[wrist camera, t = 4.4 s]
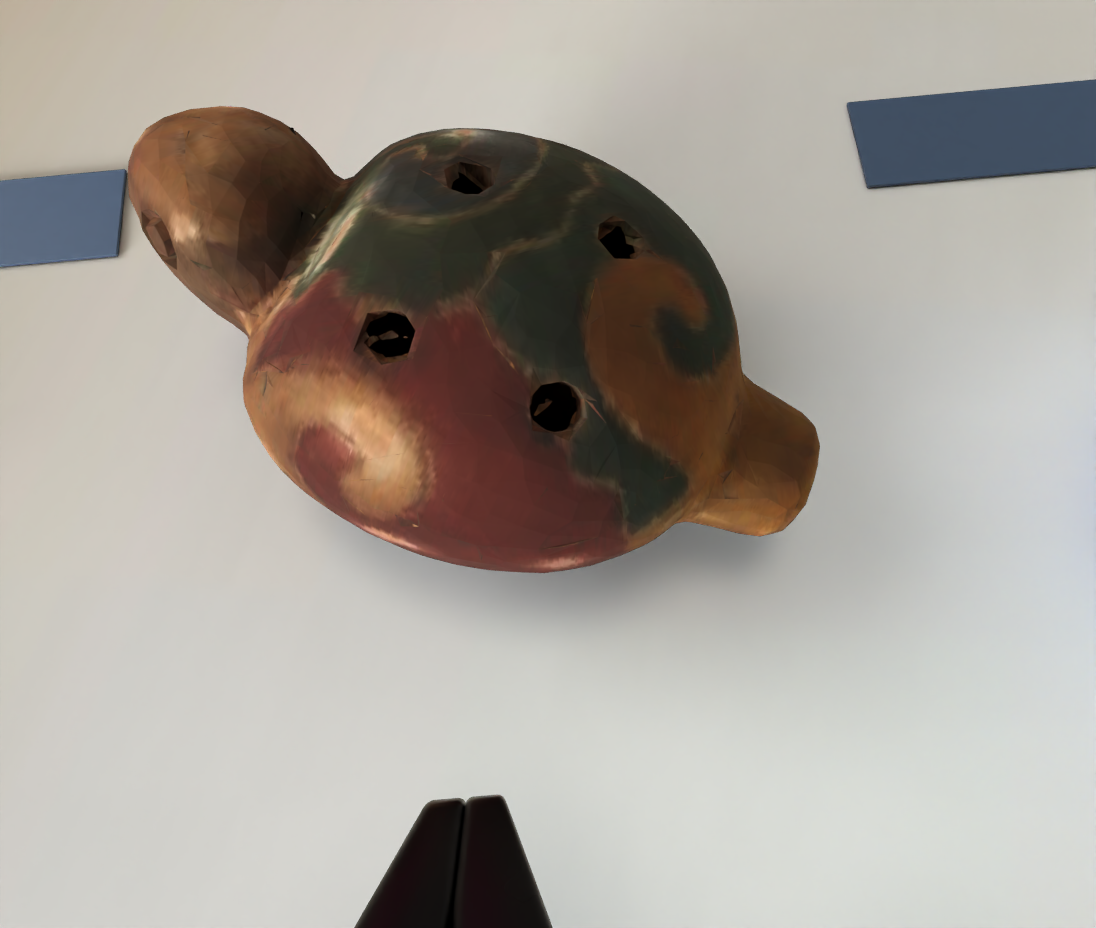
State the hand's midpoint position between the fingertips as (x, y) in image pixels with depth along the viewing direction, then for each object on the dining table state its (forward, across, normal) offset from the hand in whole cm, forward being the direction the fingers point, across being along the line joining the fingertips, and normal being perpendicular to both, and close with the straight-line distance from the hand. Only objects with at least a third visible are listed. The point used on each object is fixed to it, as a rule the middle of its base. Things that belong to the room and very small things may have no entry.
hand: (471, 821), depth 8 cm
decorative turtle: (+13, 0, +1) cm, 13 cm away
